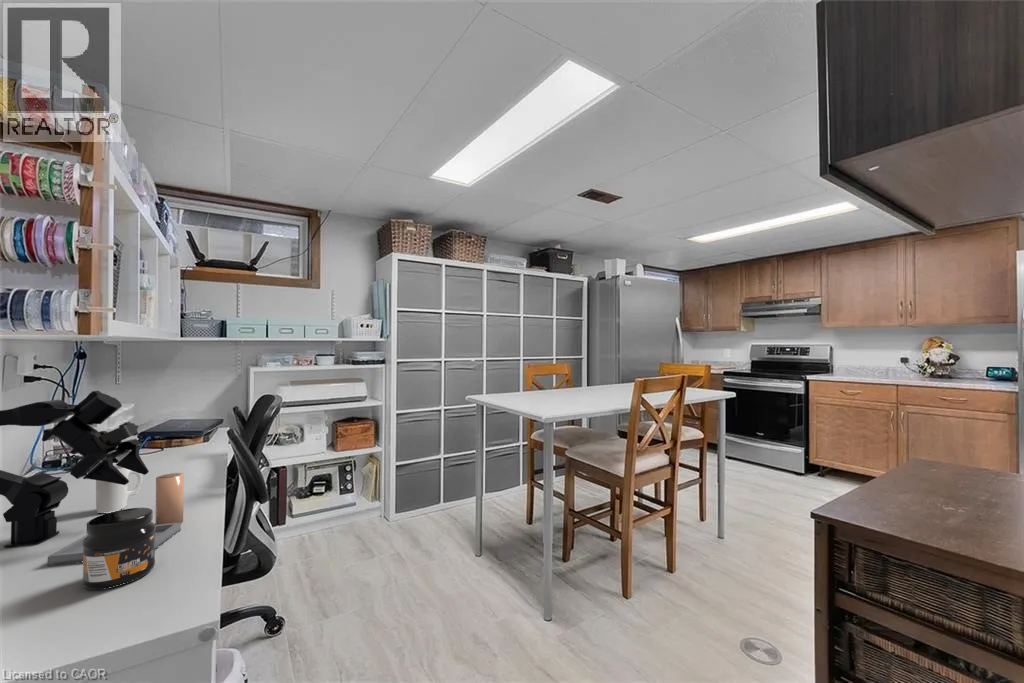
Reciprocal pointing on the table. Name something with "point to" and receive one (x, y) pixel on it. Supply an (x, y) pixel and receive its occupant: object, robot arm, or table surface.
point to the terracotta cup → (169, 498)
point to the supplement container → (118, 548)
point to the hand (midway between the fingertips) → (137, 478)
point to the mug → (115, 492)
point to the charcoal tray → (75, 549)
